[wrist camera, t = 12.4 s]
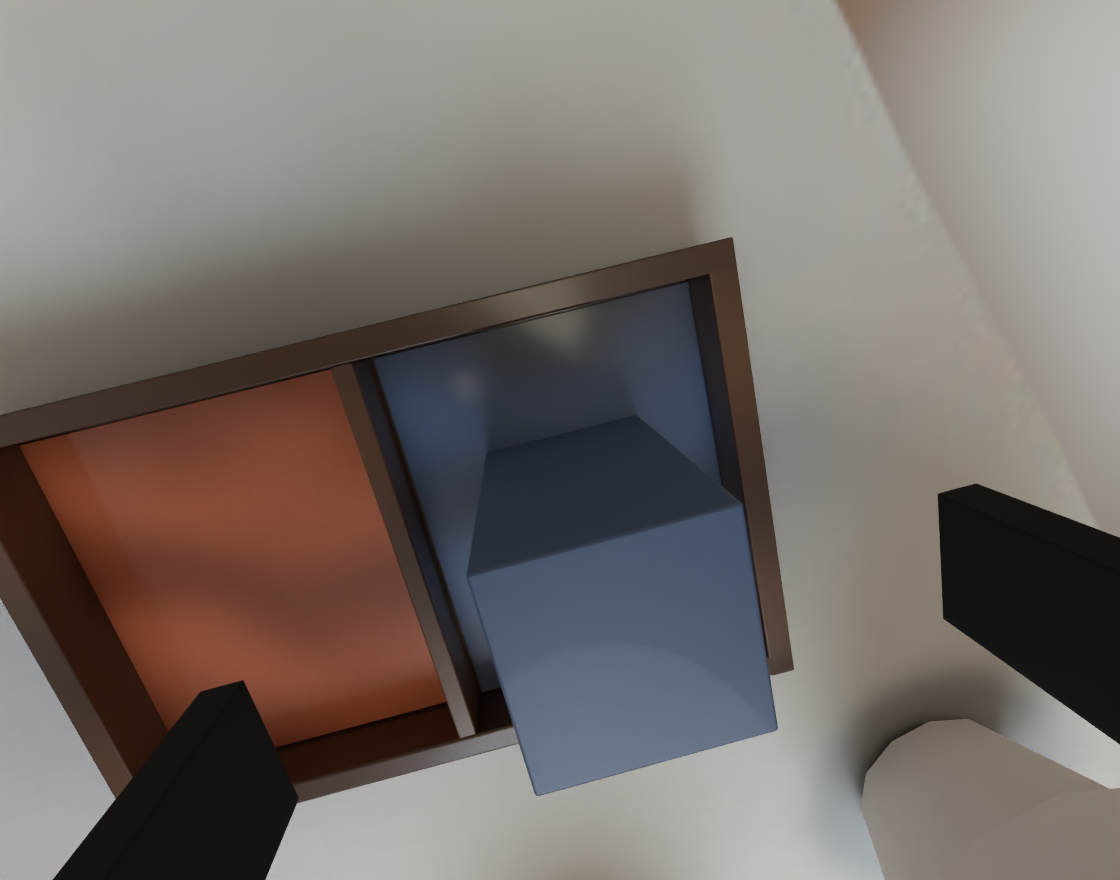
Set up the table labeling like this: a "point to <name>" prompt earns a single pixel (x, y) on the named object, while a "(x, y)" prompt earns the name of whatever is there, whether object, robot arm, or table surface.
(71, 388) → the table surface
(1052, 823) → the potted plant
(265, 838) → the robot arm
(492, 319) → the tray
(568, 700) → the blue bar
